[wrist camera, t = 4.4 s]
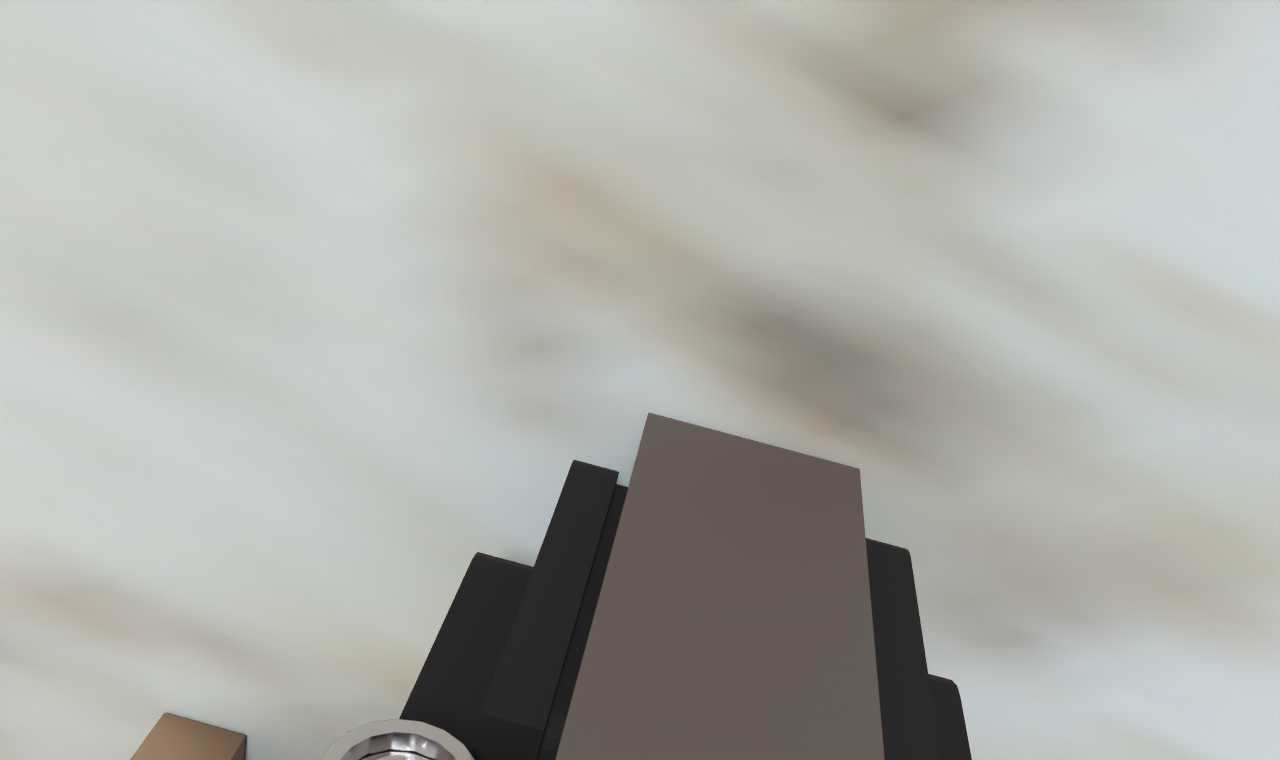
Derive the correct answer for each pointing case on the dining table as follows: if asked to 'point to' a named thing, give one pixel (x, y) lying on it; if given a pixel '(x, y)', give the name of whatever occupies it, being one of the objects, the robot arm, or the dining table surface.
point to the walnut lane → (190, 742)
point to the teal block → (731, 610)
